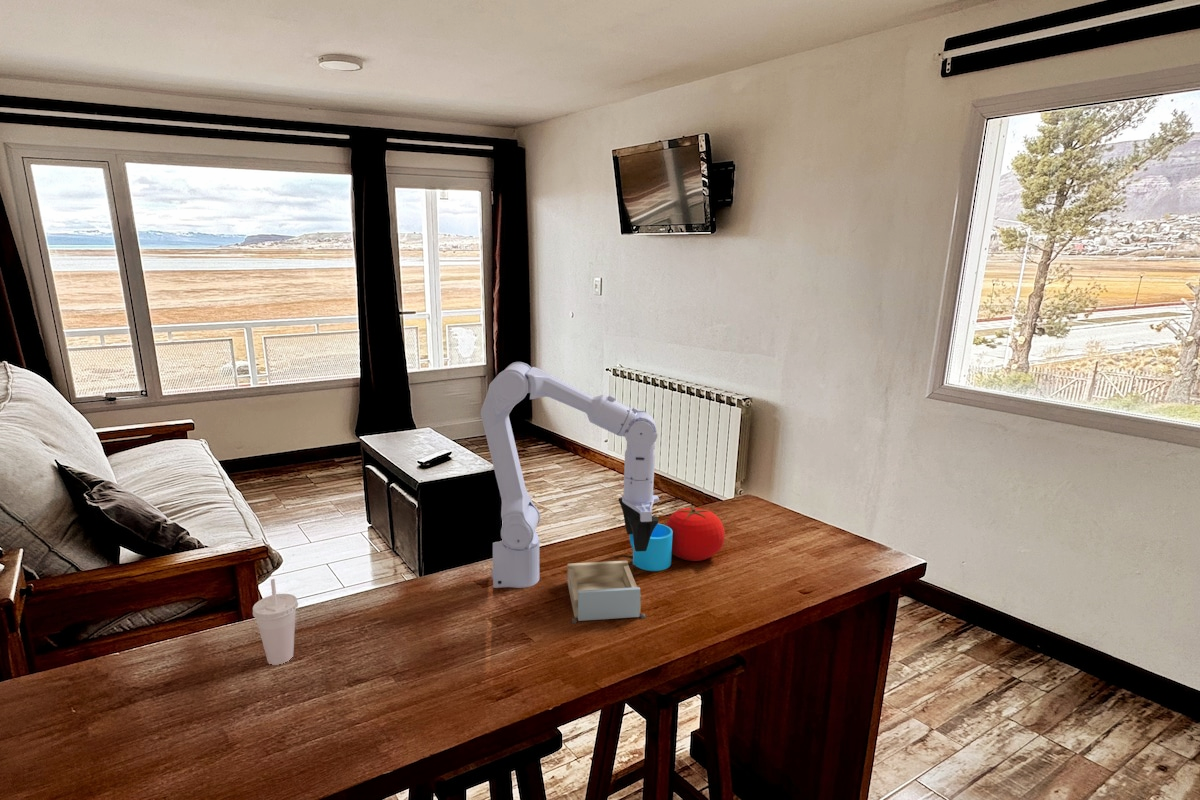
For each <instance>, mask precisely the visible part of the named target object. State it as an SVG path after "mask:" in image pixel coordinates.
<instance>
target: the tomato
mask: <svg viewBox="0 0 1200 800" xmlns="http://www.w3.org/2000/svg"><path fill="white" fill-rule="evenodd" d="M665 526H668V527H669V528H671V529H672V531H673V536H672V555H674V556H676V557H678V558H679V559H682V560H684V561H690V562H699V561H705V560H706V559H710V558H711V557H713V556H714V555H716V554H717V553H718V552H719V551H720V550H721V549H722V548H723V545H724V544H725V539H726V538H725V536H726V531H725V528H724V525H723V523H722V520H721V519H720V518H719V517H718V515H716V514H715V513H714V512H712V511H711V510H709V509H704V508H697V507H693V506H692V505H690V507H683V508H680V509H677V510H675V511H674V512H673V513H671V515H670V516H669V518H668V520H667V521H666V523H665Z"/></svg>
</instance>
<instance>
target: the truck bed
mask: <svg viewBox="0 0 1200 800" xmlns="http://www.w3.org/2000/svg"><path fill="white" fill-rule="evenodd" d="M566 574H567V577H566V578H567V581H566V582H567V587H568V591H569V596H570V602H571V607H572V608H571V609H572V612H573V618H571V623H572V624H577V623H578V621H577V620H578V591H580V590H597V589H614V588H631V587H638V585H637V583H636V581H635V579H634V576H633V573H632V571H631V569H630V566H629V561H628V560H613V561H611V560H610V561H609V560H608V561H595V562H594V561H593V562H575V563H573V562H572V563H567V573H566ZM641 601H642V595H641V594H640V611H641V607H642V606H641V605H642V602H641ZM639 617H640V619H641V620H642V619H643V620H644V619H646V613H640V616H639Z"/></svg>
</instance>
